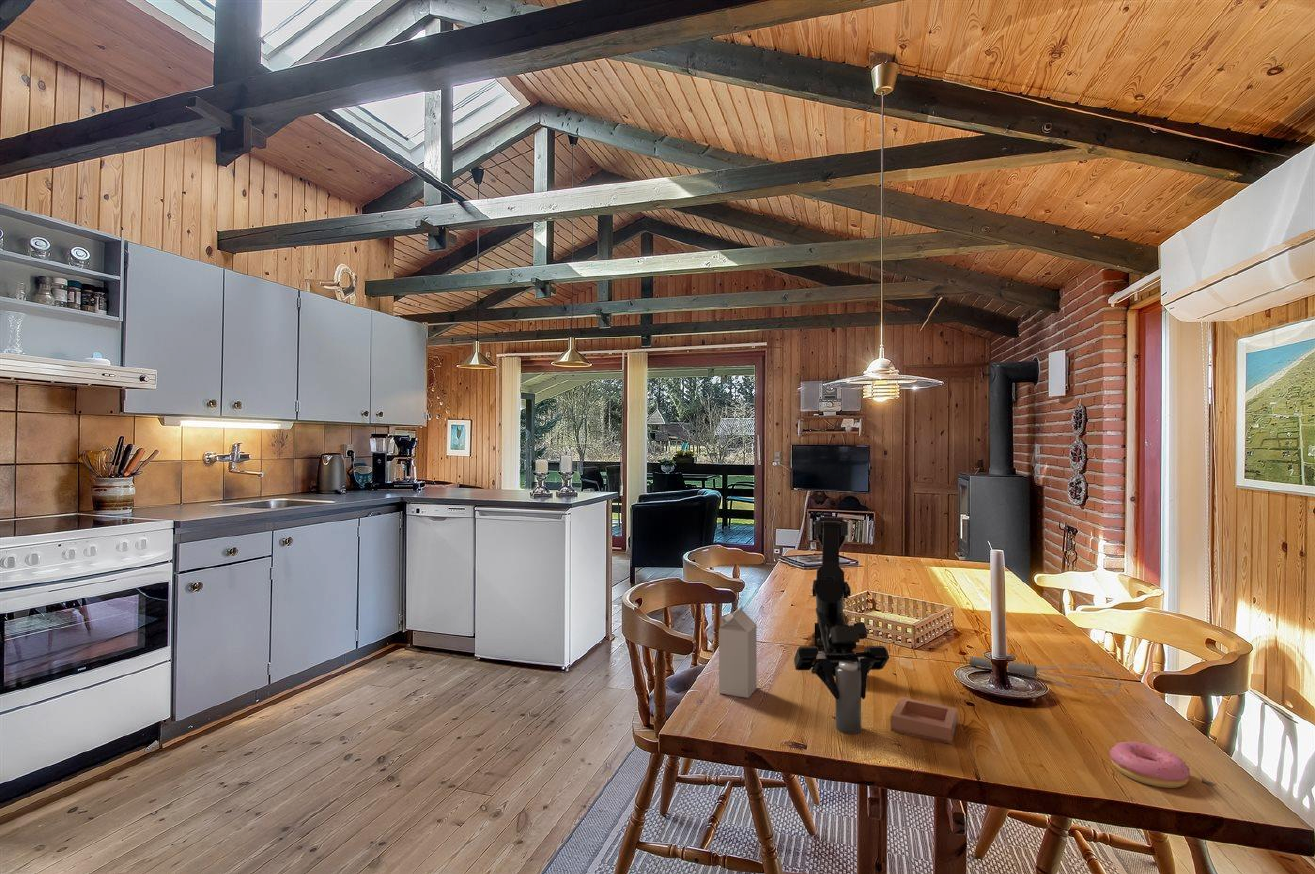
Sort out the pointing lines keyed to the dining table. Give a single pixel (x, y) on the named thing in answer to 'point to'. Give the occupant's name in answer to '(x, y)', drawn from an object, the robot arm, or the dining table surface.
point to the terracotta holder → (924, 720)
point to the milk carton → (738, 655)
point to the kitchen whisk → (1032, 671)
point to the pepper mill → (848, 697)
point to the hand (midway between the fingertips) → (850, 698)
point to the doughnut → (1149, 764)
